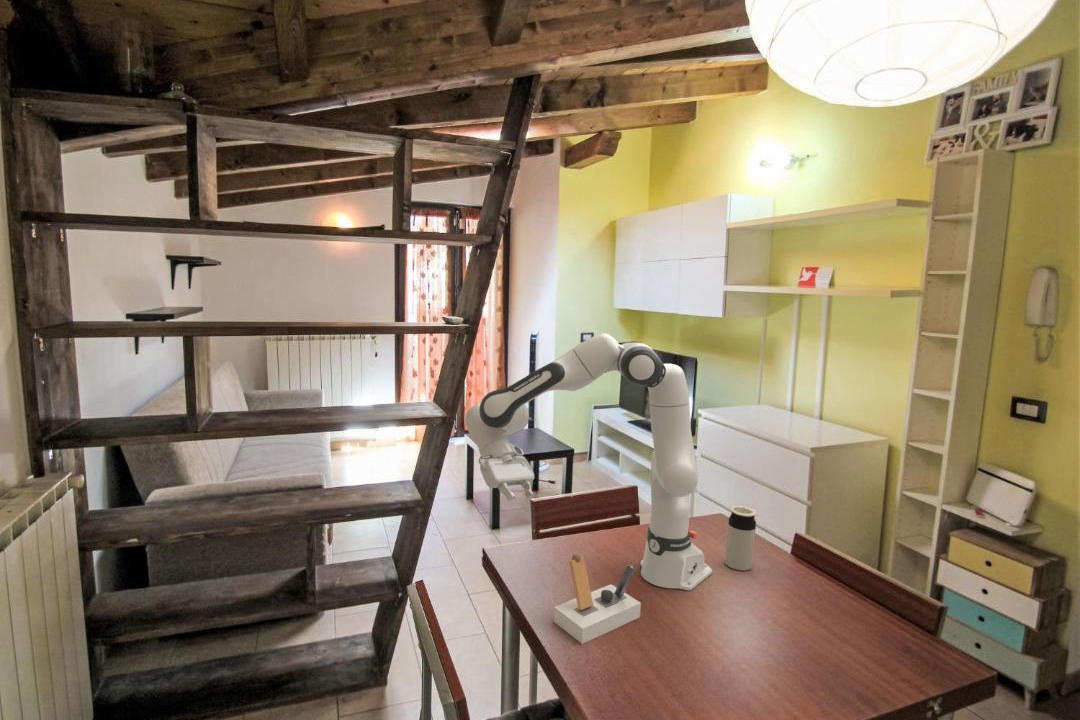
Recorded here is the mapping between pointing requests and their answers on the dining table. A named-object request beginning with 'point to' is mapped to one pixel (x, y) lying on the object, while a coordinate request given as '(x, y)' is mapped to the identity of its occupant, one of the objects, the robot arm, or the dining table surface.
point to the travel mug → (740, 538)
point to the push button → (606, 595)
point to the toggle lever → (624, 580)
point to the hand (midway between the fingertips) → (521, 497)
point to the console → (596, 615)
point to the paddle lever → (580, 582)
